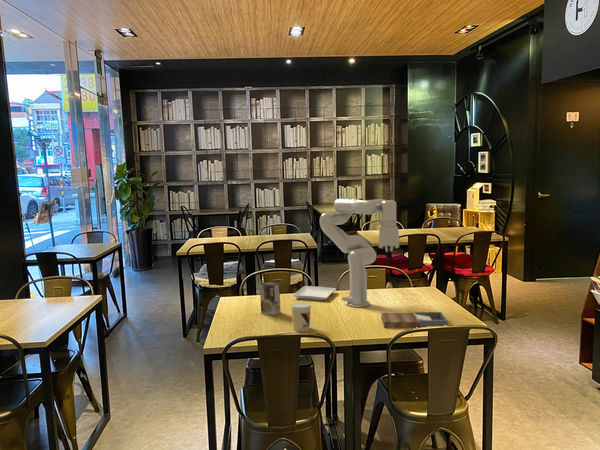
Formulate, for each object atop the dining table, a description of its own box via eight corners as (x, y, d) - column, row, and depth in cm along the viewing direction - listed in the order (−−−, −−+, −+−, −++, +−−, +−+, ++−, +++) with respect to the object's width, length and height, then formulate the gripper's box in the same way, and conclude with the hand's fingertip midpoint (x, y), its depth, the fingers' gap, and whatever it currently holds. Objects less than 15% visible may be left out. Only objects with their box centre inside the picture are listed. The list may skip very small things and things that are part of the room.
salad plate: (326, 302, 275) (326, 297, 275) (292, 300, 282) (292, 294, 282) (336, 293, 295) (336, 287, 294) (304, 290, 302) (304, 285, 302)
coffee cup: (304, 333, 225) (304, 308, 223) (288, 330, 230) (287, 306, 228) (314, 327, 233) (314, 303, 231) (298, 324, 238) (297, 301, 236)
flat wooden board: (384, 328, 230) (384, 322, 229) (381, 318, 244) (381, 312, 243) (418, 327, 229) (418, 321, 229) (412, 318, 243) (413, 312, 242)
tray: (418, 327, 229) (418, 320, 229) (413, 318, 243) (413, 312, 242) (447, 327, 228) (447, 320, 228) (440, 318, 242) (441, 311, 241)
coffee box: (281, 312, 258) (280, 283, 256) (275, 315, 252) (274, 285, 250) (266, 310, 262) (265, 281, 260) (260, 313, 256) (259, 284, 254)
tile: (417, 322, 231) (418, 318, 231) (414, 318, 238) (415, 314, 238) (431, 325, 231) (432, 321, 231) (428, 320, 238) (429, 316, 238)
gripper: (375, 225, 244) (375, 260, 246) (404, 224, 243) (404, 260, 245) (373, 223, 252) (373, 257, 254) (402, 223, 251) (402, 257, 253)
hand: (388, 258), depth 250 cm, fingers closed
